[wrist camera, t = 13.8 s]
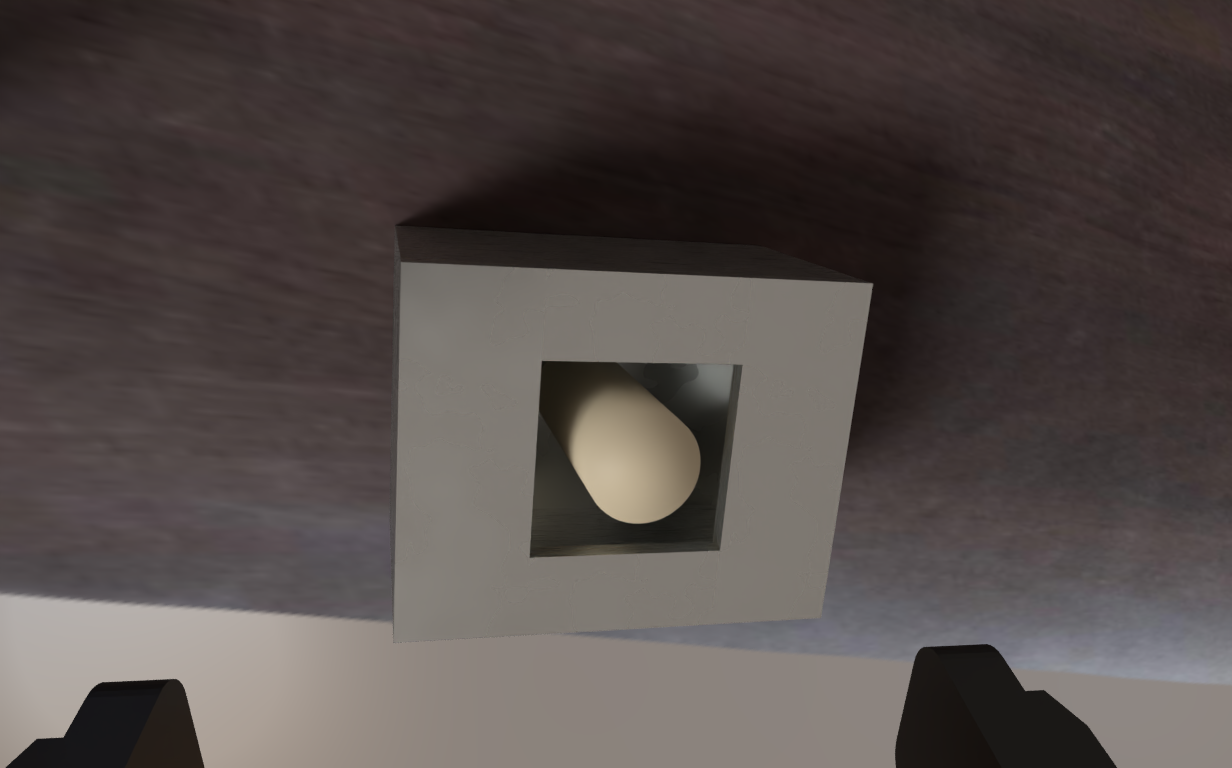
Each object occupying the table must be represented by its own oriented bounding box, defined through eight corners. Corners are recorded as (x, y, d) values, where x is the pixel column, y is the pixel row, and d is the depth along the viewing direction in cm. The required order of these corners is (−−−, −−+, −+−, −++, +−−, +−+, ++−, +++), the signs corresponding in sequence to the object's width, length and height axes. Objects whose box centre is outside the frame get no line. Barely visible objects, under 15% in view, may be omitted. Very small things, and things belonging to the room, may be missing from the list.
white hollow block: (760, 245, 41) (873, 283, 32) (728, 512, 44) (820, 617, 35) (395, 225, 37) (400, 262, 28) (389, 521, 40) (393, 642, 31)
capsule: (627, 346, 40) (706, 410, 31) (620, 433, 41) (694, 521, 32) (537, 345, 39) (590, 411, 30) (532, 434, 40) (582, 525, 31)
